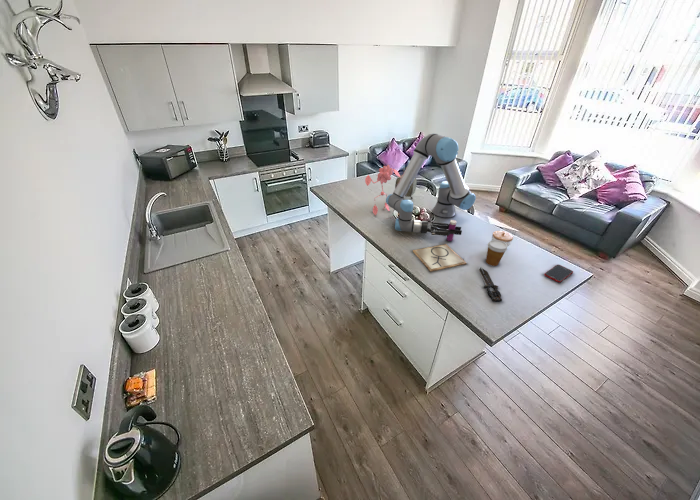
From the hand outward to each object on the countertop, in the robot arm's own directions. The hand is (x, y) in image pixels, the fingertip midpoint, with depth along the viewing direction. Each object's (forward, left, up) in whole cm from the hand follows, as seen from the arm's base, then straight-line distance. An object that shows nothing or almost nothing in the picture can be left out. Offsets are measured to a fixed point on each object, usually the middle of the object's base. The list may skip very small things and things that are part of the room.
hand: (460, 230), depth 170 cm
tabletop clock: (+4, -67, -8) cm, 67 cm away
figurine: (+30, -47, -8) cm, 56 cm away
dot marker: (+5, -3, -7) cm, 9 cm away
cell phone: (-30, +43, -7) cm, 53 cm away
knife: (+10, +38, -8) cm, 40 cm away
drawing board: (+21, +11, -7) cm, 25 cm away
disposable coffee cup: (-4, +24, -8) cm, 26 cm away
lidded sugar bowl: (-19, +12, -8) cm, 24 cm away
